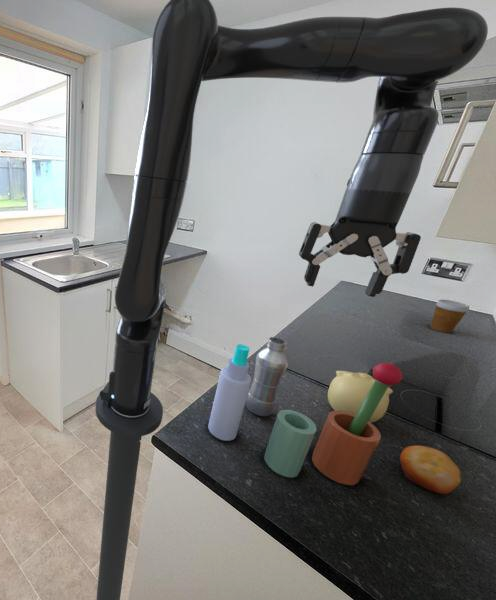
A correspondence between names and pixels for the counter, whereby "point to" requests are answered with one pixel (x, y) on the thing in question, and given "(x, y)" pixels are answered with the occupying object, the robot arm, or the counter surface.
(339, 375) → the sculpture
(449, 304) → the disposable coffee cup
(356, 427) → the rose
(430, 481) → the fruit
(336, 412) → the terracotta vase
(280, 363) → the silver metal bottle
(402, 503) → the counter surface
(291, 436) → the celadon vase
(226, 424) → the spray bottle
